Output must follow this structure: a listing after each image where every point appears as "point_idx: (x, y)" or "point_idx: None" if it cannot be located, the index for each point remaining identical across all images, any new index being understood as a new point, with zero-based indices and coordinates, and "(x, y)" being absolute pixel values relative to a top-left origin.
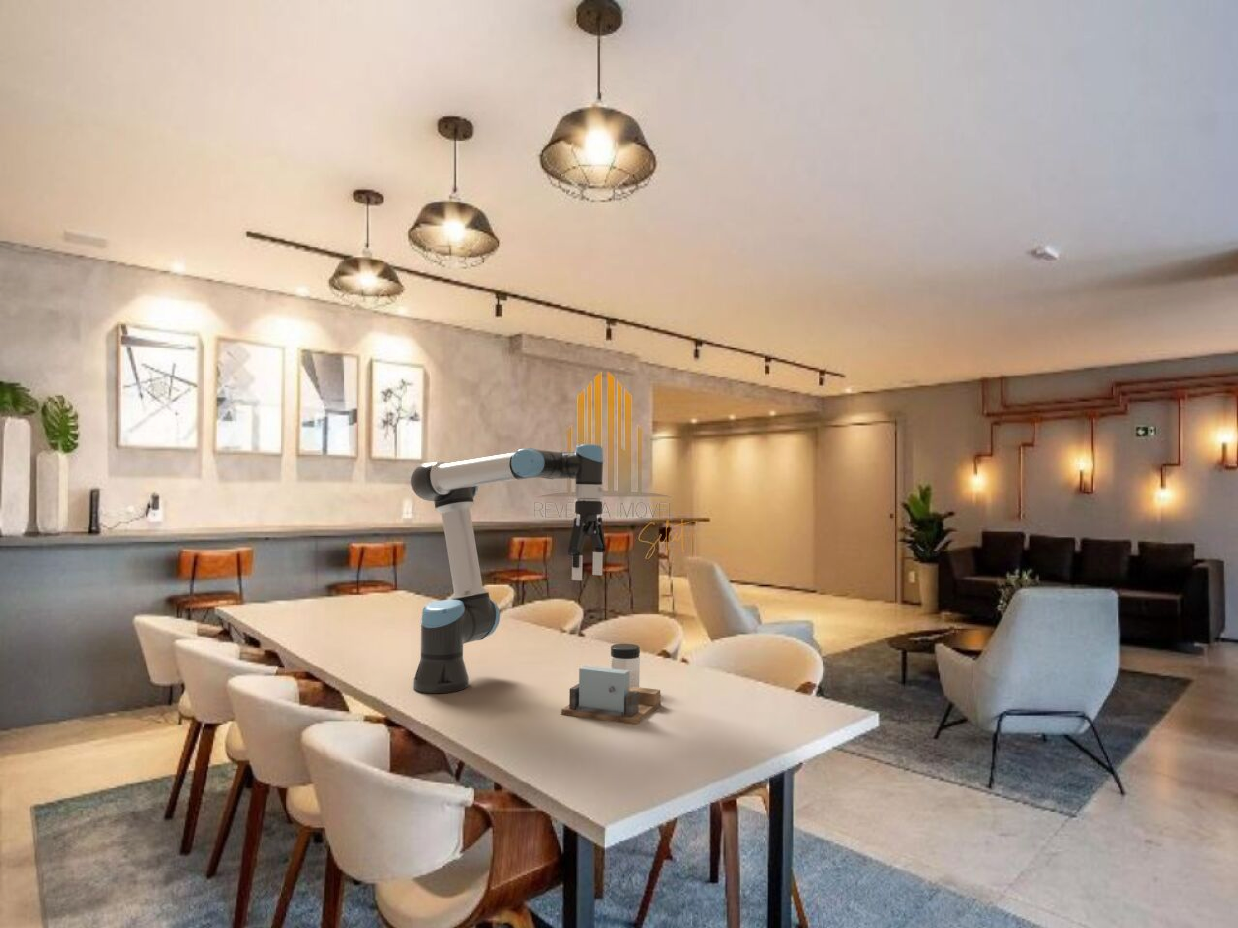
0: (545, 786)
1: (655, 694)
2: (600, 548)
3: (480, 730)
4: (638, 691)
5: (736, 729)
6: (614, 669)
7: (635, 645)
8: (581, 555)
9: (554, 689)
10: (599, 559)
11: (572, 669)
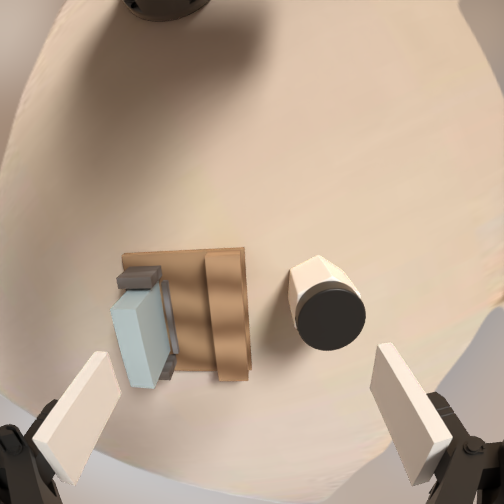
0: None
1: (223, 380)
2: (427, 500)
3: (23, 193)
4: (169, 379)
5: (201, 449)
6: (144, 366)
7: (352, 335)
8: (70, 481)
9: (253, 160)
10: (401, 441)
11: (410, 124)
